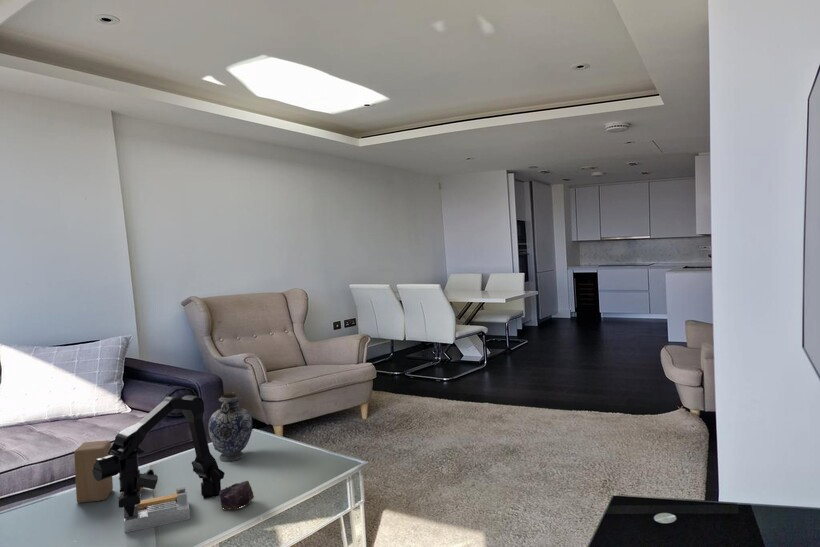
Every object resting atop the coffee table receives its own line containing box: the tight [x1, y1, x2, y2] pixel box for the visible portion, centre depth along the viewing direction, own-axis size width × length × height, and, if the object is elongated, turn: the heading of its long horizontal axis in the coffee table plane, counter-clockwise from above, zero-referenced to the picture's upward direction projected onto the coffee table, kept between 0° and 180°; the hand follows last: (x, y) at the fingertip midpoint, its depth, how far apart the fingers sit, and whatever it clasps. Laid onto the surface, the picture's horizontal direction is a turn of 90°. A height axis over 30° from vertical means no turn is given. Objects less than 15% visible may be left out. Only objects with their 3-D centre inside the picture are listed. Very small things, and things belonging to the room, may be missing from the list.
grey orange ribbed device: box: [123, 487, 191, 534], centre depth 194 cm, size 20×14×7 cm
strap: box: [137, 492, 182, 507], centre depth 195 cm, size 19×3×1 cm, turn 115°
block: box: [73, 440, 114, 504], centre depth 211 cm, size 10×10×20 cm
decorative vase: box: [208, 391, 253, 463], centre depth 248 cm, size 21×19×28 cm
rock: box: [218, 480, 255, 510], centre depth 200 cm, size 12×9×10 cm
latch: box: [123, 505, 138, 518], centre depth 188 cm, size 4×6×3 cm, turn 25°
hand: (131, 516), depth 185 cm, fingers closed
